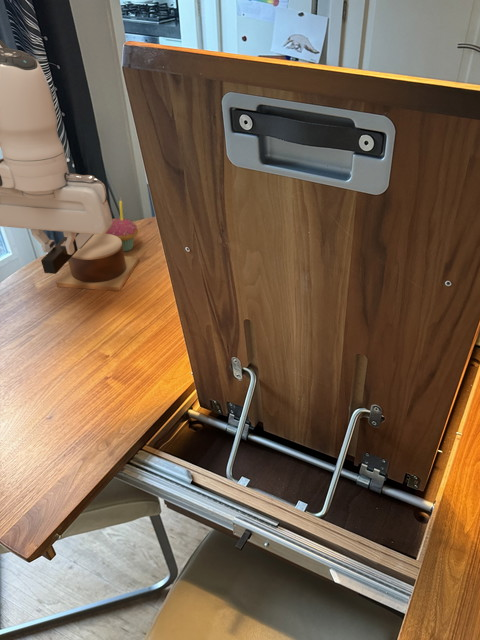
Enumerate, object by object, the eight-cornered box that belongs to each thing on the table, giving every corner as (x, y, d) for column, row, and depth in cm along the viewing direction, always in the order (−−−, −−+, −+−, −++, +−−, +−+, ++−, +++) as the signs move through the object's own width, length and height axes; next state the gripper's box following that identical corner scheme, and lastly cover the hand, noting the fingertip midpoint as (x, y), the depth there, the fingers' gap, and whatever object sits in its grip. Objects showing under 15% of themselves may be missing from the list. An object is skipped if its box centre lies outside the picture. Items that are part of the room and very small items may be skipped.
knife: (57, 274, 87) (54, 261, 86) (42, 272, 87) (39, 260, 86) (101, 226, 102) (99, 214, 101) (88, 225, 102) (86, 213, 101)
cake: (57, 286, 113) (48, 257, 108) (82, 257, 123) (75, 229, 119) (119, 291, 112) (113, 261, 107) (139, 261, 123) (134, 233, 118)
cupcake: (122, 237, 132) (114, 190, 124) (148, 245, 129) (140, 198, 121) (97, 250, 126) (87, 202, 119) (123, 259, 123) (114, 210, 115)
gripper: (110, 169, 83) (123, 249, 92) (-12, 160, 84) (13, 239, 93) (95, 183, 78) (110, 265, 87) (-35, 173, 79) (-6, 255, 88)
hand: (59, 252), depth 90 cm, fingers closed on knife, 2 cm apart
